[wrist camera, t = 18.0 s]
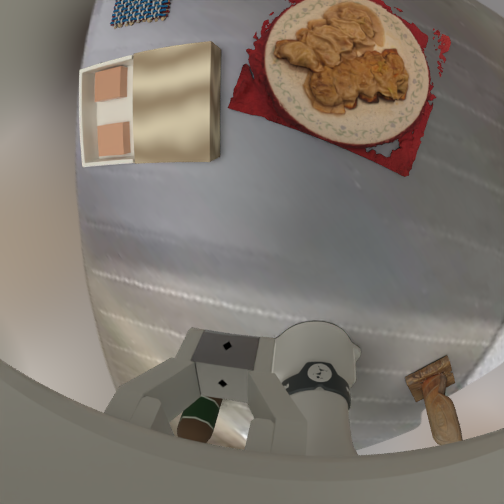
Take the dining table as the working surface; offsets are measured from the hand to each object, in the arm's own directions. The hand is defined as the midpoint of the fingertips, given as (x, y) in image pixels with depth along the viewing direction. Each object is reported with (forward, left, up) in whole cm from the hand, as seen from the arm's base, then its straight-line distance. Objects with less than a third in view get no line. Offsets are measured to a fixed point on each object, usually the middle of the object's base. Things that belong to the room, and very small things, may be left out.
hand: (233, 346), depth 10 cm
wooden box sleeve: (+10, +14, -33) cm, 37 cm away
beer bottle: (-50, +14, -33) cm, 62 cm away
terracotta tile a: (+6, +26, -30) cm, 40 cm away
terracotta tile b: (+15, +26, -30) cm, 43 cm away
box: (+10, +25, -33) cm, 43 cm away
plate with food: (+17, -8, -34) cm, 39 cm away
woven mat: (+30, +22, -34) cm, 50 cm away
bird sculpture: (-41, -38, -33) cm, 65 cm away
